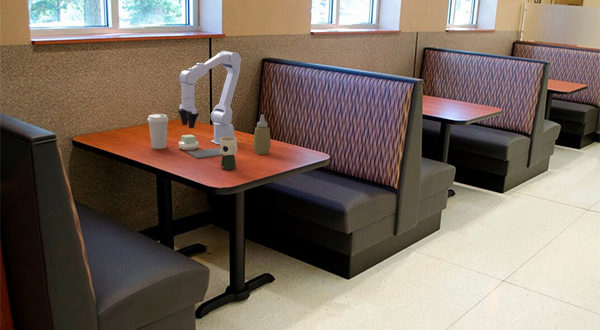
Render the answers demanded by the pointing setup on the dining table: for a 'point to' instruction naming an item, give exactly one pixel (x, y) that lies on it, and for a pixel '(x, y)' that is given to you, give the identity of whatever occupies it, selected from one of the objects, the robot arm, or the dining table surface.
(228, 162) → the character mug
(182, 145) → the white shallow dome
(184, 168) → the dining table surface
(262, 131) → the squeeze bottle
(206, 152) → the mat
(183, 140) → the pale green square block
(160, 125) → the coffee cup
